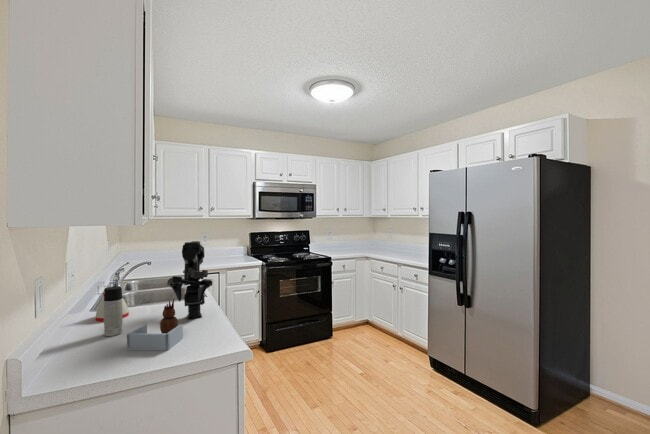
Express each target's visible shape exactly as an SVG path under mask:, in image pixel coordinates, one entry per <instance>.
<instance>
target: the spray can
mask: <svg viewBox="0 0 650 434" xmlns="http://www.w3.org/2000/svg"><path fill="white" fill-rule="evenodd" d="M103 291H104V292H103V293H104V295H103V299H104V322H103V323H104V325H103V328H104V329H103V333H104V334H103V335H104V337H116V336H119V335H122V333H123V331H124V330H123V328H124V327H123V325H124V324H123V318H122V298H123V288H122V287H121V286H119V285H117V286H108V287H105V288H104V290H103Z"/></svg>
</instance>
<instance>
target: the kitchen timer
mask: <svg viewBox="0 0 650 434" xmlns="http://www.w3.org/2000/svg"><path fill="white" fill-rule="evenodd" d="M102 295H103V296H104V292H102ZM129 314H130V309H129V307H128V304H127V301H126V300H125V299H124V297H122V319H124V318H127V317H129ZM95 321H97V322H101V323H102V322H103V323H104V298H102V300H101V301H100V302H99V305H98V306H97V308H96V313H95Z"/></svg>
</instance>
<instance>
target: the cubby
mask: <svg viewBox="0 0 650 434" xmlns="http://www.w3.org/2000/svg"><path fill="white" fill-rule="evenodd" d="M182 340H183V324H178V326H177V327H176V328H174V329H173V330H171V331H170V332H168V333H167V334H162V333H157V332H156V333H153V332H151V333H148V324H145V323H144V324H143V325H141V326H139V327H137V328H135V329H134V330H131V331H130V332H128V333H127V334H126V350H127V351H169V350H171V348H173V347H174V346H175V345H177V344H178V343H180V342H181V341H182Z"/></svg>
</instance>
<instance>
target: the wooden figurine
mask: <svg viewBox="0 0 650 434" xmlns="http://www.w3.org/2000/svg"><path fill="white" fill-rule="evenodd" d="M175 315H176V310H175V300H174V299H172V302H171V301H170V300H169V301H168V303H166V305H164V307H163V310H162V318H161V319H160V322H159V328H160V334H167V333H168V332H170V331H171V330H173V329H174V328H176V327H177V326H178V325H179V319H178V317H177V316H175Z"/></svg>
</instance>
